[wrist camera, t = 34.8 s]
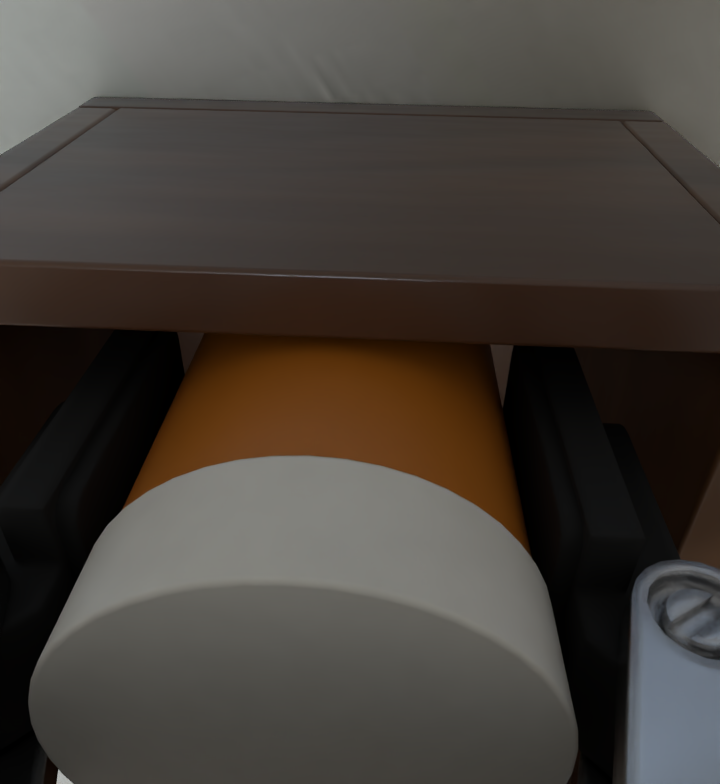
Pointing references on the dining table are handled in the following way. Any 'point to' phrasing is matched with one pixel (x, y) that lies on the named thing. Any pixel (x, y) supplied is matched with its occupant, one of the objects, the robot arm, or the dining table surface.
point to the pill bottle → (314, 585)
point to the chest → (378, 253)
